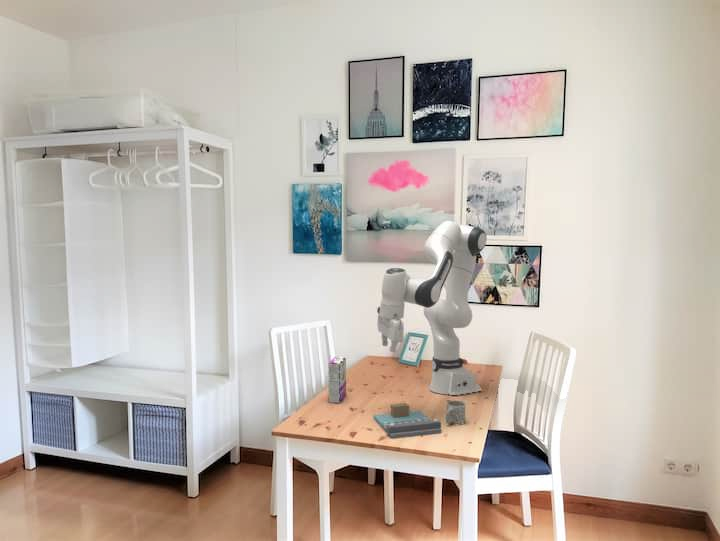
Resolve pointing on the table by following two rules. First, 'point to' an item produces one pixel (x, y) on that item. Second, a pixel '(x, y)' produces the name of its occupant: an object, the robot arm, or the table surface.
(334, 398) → the candy bar box
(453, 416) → the mug
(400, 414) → the teal flat block
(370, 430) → the table surface
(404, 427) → the grey toy road piece
